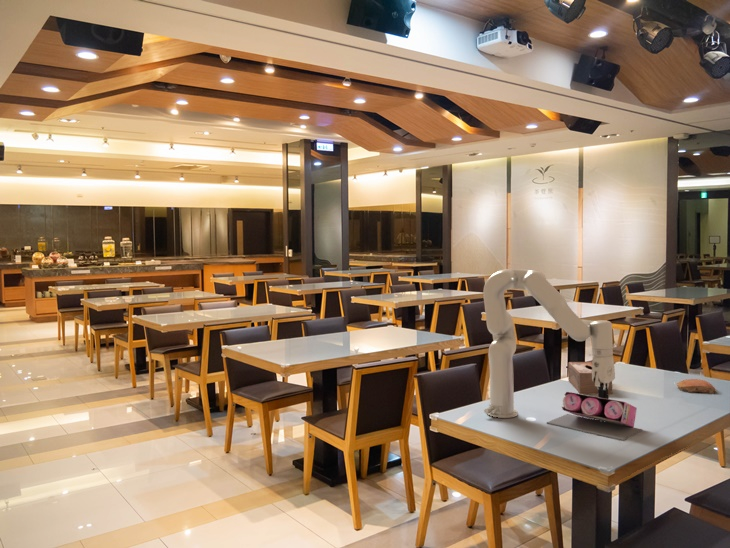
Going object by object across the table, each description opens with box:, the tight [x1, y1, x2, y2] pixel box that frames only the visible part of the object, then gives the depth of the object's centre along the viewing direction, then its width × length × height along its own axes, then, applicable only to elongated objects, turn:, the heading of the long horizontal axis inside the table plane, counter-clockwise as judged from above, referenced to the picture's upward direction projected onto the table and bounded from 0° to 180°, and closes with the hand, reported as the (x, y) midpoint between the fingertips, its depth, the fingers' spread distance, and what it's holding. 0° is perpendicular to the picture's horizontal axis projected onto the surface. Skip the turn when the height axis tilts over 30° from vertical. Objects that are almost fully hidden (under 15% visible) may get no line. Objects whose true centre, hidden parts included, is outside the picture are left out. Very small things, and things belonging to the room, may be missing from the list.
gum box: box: [561, 391, 637, 428], centre depth 228 cm, size 24×8×14 cm
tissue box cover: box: [567, 361, 613, 395], centre depth 287 cm, size 26×14×10 cm, turn 172°
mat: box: [546, 413, 643, 442], centre depth 226 cm, size 16×30×1 cm, turn 42°
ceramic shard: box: [676, 378, 717, 394], centre depth 279 cm, size 15×6×15 cm
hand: (603, 399), depth 230 cm, fingers closed
